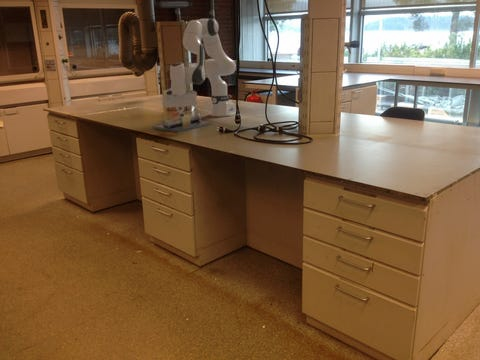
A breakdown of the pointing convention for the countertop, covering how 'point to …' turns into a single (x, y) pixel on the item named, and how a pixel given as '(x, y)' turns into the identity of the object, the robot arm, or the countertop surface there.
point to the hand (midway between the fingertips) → (180, 114)
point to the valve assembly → (182, 123)
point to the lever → (177, 113)
